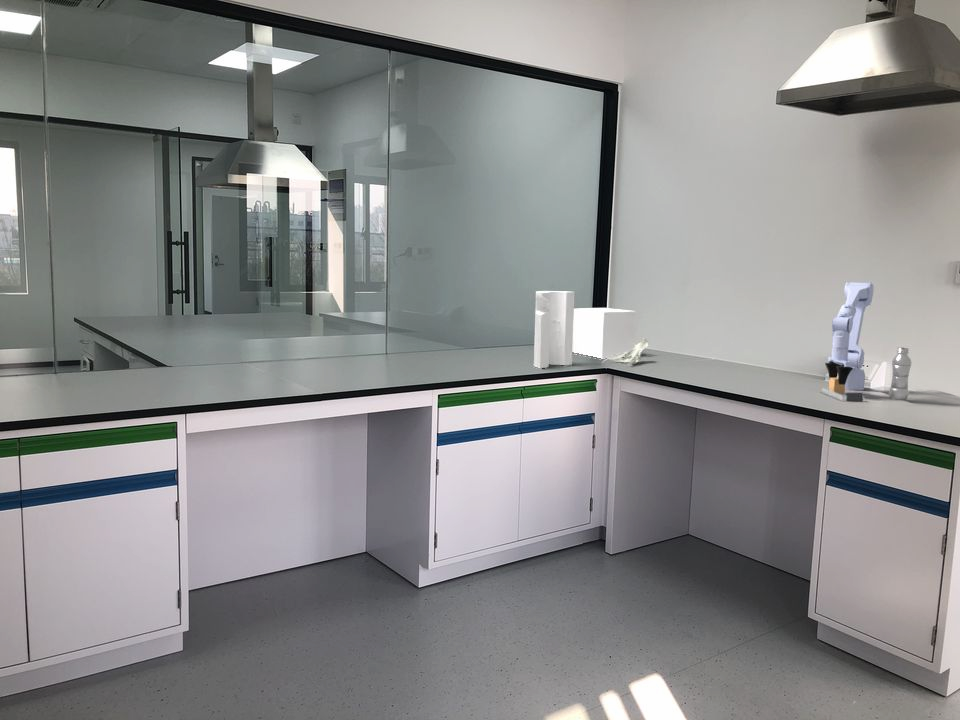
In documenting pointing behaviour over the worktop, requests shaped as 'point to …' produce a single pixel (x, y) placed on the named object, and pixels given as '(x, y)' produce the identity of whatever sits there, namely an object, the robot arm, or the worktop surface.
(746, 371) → the worktop surface
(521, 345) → the worktop surface
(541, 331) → the white grooved block
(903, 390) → the plastic bottle
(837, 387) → the block
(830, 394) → the mounting plate
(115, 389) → the worktop surface
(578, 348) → the cube
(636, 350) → the skeletal model
